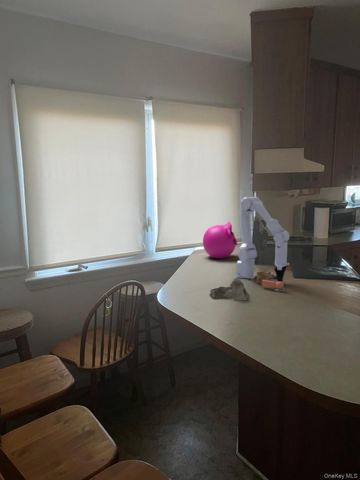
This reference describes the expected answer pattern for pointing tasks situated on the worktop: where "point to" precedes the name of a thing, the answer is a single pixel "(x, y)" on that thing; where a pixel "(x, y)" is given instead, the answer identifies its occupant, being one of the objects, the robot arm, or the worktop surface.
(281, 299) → the worktop surface
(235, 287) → the rock
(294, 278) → the worktop surface
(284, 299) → the worktop surface
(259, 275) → the eye block
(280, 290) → the lever base
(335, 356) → the worktop surface
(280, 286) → the latch lever
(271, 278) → the bolt
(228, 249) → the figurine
